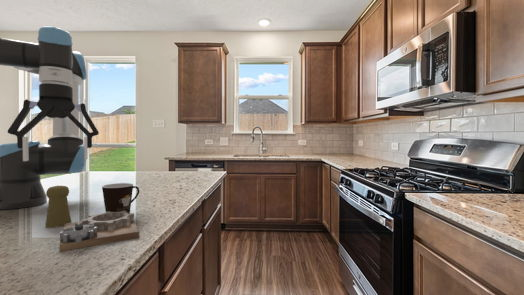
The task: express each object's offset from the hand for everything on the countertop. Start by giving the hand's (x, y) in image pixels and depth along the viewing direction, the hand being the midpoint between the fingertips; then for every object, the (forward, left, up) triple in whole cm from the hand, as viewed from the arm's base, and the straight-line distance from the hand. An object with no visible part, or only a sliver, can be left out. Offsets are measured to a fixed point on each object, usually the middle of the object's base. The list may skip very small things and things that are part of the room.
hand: (57, 160), depth 76 cm
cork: (0, 0, -19) cm, 19 cm away
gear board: (+14, +10, -19) cm, 25 cm away
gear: (+20, +5, -17) cm, 27 cm away
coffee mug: (0, +17, -19) cm, 25 cm away
